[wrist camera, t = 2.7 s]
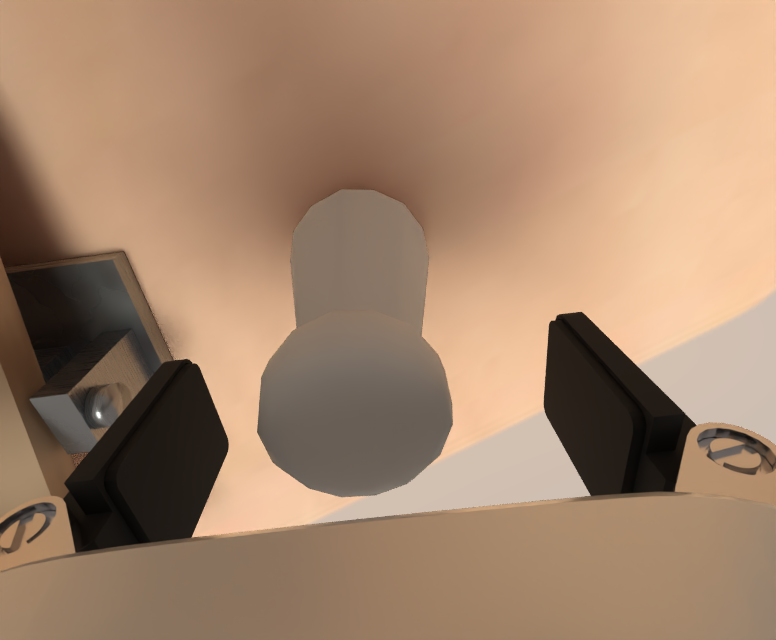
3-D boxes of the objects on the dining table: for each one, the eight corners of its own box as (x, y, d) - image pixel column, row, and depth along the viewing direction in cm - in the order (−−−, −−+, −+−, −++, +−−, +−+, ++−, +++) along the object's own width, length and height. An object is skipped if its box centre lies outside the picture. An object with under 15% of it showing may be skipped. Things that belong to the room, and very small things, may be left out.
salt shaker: (307, 164, 18) (208, 290, 6) (434, 192, 19) (545, 347, 7) (292, 285, 20) (204, 526, 9) (404, 305, 21) (450, 547, 10)
